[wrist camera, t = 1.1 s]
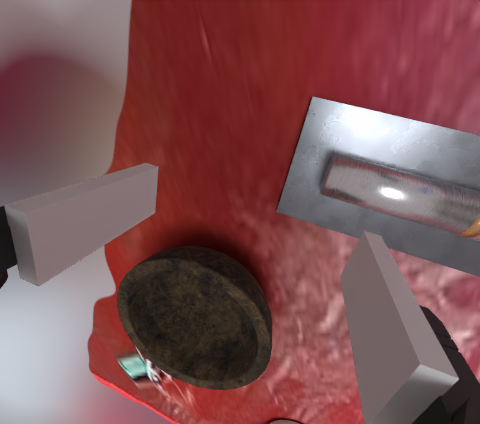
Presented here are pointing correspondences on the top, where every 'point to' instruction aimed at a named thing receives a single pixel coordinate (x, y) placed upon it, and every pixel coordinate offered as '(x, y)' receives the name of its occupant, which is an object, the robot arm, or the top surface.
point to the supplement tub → (283, 422)
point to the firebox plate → (390, 155)
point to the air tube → (403, 195)
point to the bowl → (198, 317)
